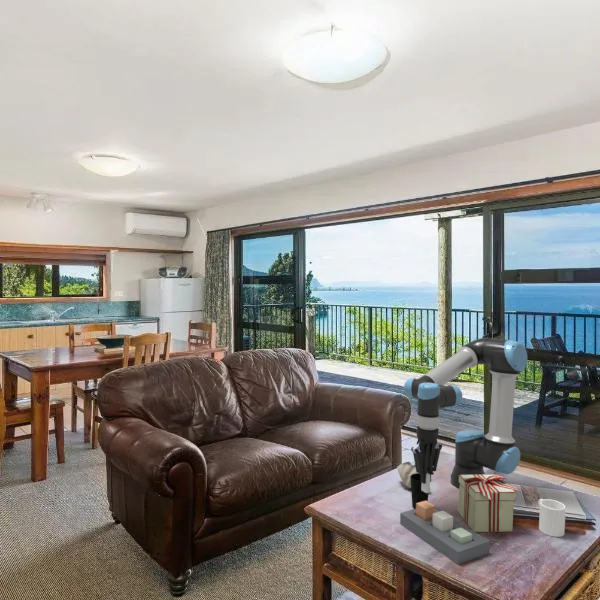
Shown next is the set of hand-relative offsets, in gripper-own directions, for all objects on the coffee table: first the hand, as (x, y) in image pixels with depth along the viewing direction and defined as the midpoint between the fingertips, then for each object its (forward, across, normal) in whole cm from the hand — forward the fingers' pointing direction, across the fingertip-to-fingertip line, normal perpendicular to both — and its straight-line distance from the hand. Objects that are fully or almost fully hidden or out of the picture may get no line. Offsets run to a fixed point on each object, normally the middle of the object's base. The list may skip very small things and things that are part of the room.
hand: (425, 491), depth 174 cm
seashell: (+13, -18, -27) cm, 35 cm away
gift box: (+13, -22, +9) cm, 27 cm away
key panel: (+13, 0, +8) cm, 15 cm away
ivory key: (+10, 0, +8) cm, 13 cm away
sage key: (+12, 0, +17) cm, 21 cm away
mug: (+13, -40, +21) cm, 46 cm away
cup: (+13, -8, -12) cm, 20 cm away
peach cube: (+10, 0, 0) cm, 10 cm away
